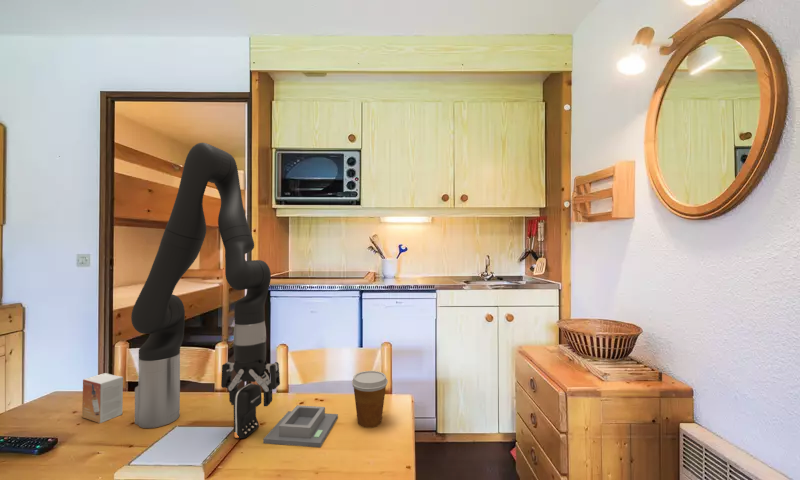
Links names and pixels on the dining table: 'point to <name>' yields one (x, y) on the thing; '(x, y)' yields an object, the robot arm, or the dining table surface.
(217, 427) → the dining table surface
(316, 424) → the dock
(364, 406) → the disposable coffee cup
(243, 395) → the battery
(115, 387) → the small box
